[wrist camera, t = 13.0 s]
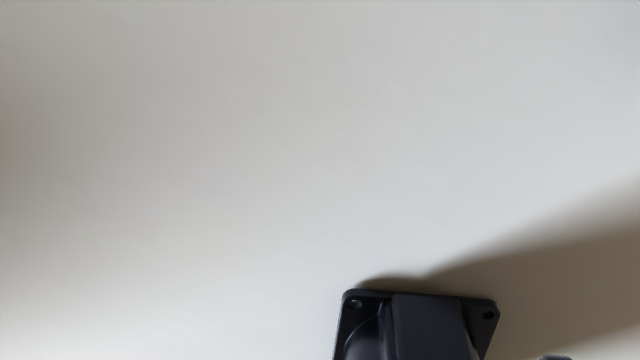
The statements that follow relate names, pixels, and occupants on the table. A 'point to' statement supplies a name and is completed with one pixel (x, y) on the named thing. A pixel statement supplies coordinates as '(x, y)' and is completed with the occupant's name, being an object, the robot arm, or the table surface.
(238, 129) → the table surface
